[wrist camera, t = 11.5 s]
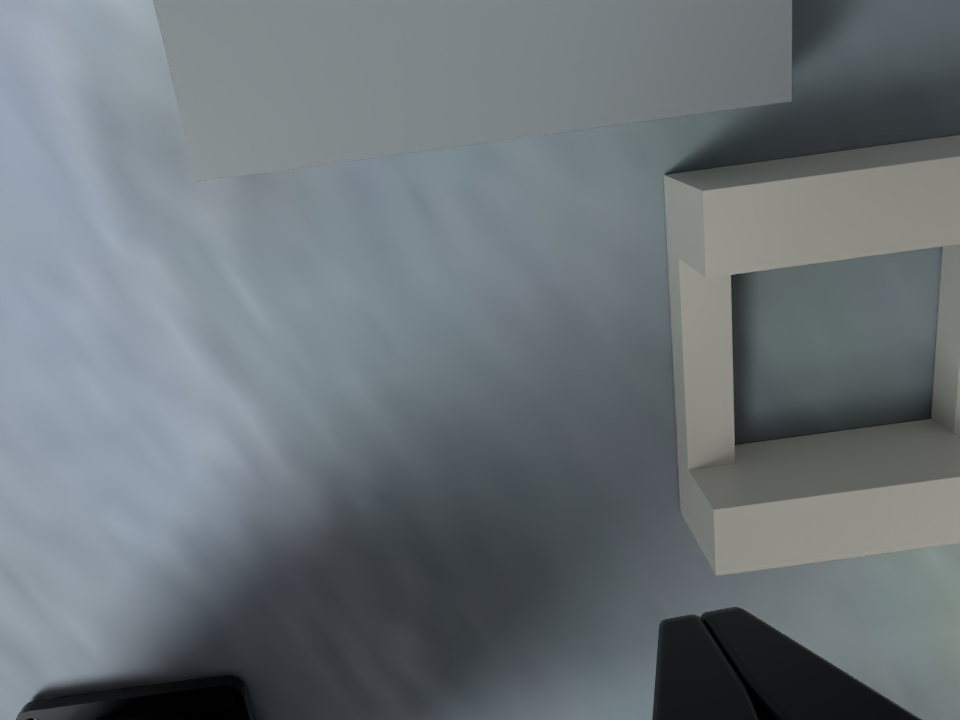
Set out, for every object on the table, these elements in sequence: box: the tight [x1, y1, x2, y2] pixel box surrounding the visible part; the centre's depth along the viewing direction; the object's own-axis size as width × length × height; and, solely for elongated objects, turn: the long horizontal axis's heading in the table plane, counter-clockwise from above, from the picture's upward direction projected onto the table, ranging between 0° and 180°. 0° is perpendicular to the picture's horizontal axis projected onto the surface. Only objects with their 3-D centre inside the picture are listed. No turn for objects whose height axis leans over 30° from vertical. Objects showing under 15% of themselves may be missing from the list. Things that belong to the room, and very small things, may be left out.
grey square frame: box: [664, 135, 960, 576], centre depth 19 cm, size 8×9×3 cm
